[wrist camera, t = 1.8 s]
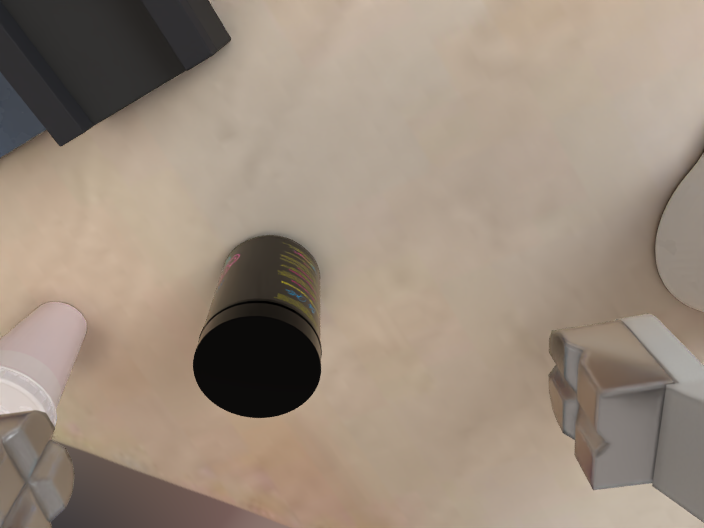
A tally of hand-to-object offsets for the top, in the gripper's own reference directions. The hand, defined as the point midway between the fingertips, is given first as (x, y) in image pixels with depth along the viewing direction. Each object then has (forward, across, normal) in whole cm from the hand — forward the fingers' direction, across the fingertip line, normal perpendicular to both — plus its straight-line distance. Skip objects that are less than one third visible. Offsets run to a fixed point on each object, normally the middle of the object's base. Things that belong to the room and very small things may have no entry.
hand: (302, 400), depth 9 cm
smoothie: (+28, +21, +13) cm, 37 cm away
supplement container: (+28, +5, +12) cm, 31 cm away
